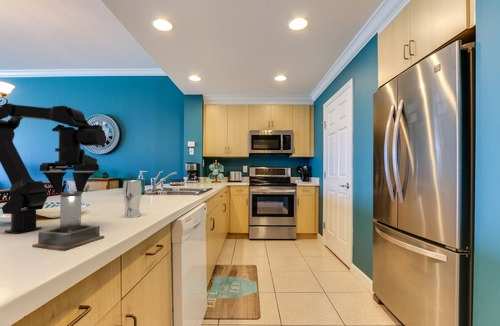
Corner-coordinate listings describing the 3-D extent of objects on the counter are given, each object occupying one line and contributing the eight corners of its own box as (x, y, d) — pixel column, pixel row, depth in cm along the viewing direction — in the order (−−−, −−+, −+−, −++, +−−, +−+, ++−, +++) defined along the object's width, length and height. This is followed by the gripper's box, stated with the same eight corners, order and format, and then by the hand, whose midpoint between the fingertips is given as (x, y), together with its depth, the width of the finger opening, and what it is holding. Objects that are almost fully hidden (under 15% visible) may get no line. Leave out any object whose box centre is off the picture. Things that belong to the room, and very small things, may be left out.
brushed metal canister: (60, 239, 63) (61, 192, 64) (80, 236, 66) (81, 191, 67) (59, 243, 60) (60, 193, 60) (80, 240, 63) (81, 192, 63)
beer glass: (133, 218, 93) (134, 181, 94) (118, 217, 95) (119, 181, 95) (144, 215, 100) (145, 180, 101) (130, 214, 102) (131, 180, 102)
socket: (32, 247, 59) (32, 232, 59) (75, 235, 70) (75, 223, 70) (64, 251, 56) (64, 236, 56) (104, 238, 67) (104, 225, 67)
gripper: (113, 147, 81) (112, 191, 81) (73, 148, 86) (72, 190, 86) (82, 143, 70) (81, 195, 70) (38, 145, 75) (37, 193, 75)
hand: (69, 193), depth 75 cm, fingers open, 9 cm apart
